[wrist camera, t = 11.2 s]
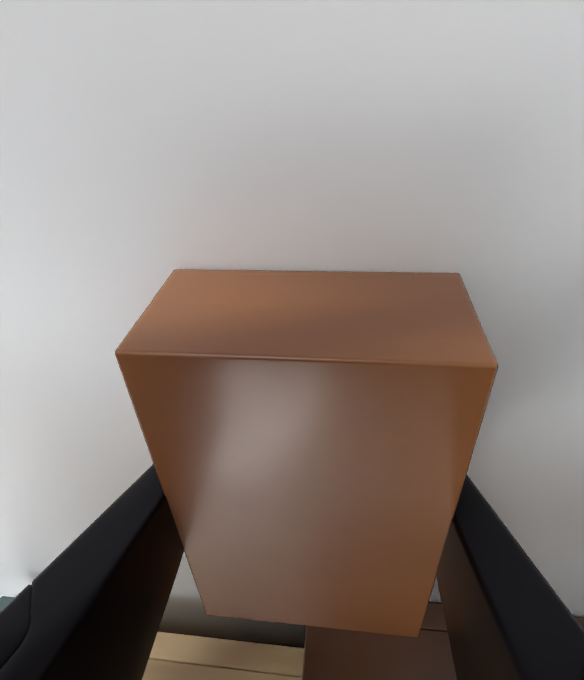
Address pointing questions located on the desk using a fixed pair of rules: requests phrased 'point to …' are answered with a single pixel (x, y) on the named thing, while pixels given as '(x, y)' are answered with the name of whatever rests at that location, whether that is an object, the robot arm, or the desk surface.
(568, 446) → the desk surface
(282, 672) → the drawer
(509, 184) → the desk surface
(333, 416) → the brown rectangular box
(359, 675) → the cabinet
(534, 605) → the robot arm
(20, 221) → the desk surface
